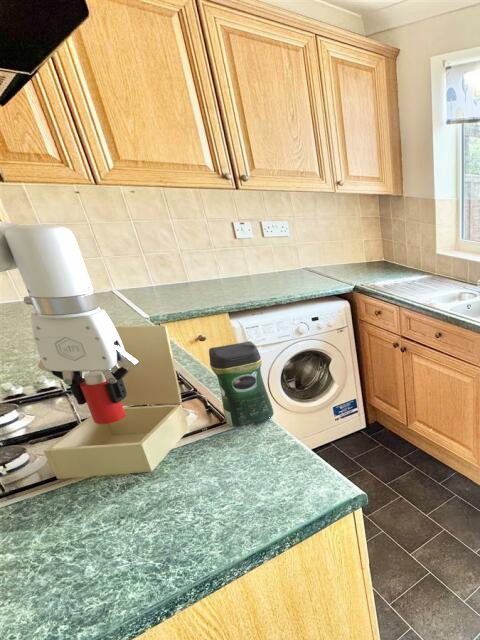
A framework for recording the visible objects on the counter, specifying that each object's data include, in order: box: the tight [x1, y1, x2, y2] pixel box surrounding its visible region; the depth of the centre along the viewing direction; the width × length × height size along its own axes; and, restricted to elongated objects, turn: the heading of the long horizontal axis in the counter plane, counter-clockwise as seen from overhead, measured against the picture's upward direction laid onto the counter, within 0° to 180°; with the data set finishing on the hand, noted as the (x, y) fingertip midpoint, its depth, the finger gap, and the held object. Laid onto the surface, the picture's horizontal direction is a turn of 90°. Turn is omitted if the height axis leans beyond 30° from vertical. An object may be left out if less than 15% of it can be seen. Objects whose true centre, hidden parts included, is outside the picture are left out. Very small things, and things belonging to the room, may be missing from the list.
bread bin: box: [43, 404, 190, 480], centre depth 82 cm, size 16×15×7 cm
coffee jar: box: [208, 340, 275, 428], centre depth 95 cm, size 10×8×19 cm
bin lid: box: [88, 325, 183, 407], centre depth 86 cm, size 16×15×1 cm
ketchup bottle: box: [80, 371, 125, 424], centre depth 77 cm, size 4×4×9 cm
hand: (103, 399), depth 77 cm, fingers closed on ketchup bottle, 4 cm apart
